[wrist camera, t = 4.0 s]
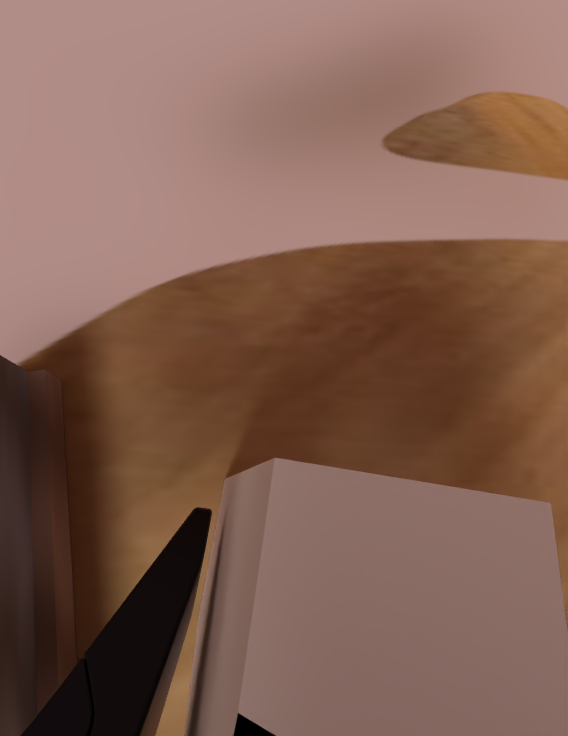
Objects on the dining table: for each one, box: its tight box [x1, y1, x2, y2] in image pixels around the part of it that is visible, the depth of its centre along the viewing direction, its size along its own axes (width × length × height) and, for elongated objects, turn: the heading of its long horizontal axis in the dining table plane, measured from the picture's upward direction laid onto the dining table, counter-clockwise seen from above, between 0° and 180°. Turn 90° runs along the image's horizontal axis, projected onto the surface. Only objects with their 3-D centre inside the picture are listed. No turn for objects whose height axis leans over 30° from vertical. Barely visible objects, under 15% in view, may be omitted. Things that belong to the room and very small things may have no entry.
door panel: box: [184, 458, 568, 736], centre depth 8 cm, size 5×2×13 cm, turn 172°
